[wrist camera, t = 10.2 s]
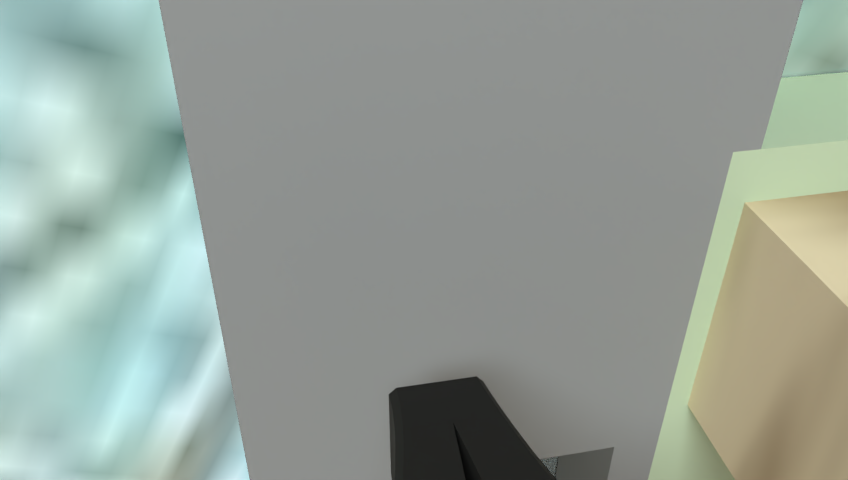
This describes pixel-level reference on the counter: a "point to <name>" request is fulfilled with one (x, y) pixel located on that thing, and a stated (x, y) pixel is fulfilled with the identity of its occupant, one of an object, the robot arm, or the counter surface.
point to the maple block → (780, 344)
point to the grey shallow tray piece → (486, 211)
